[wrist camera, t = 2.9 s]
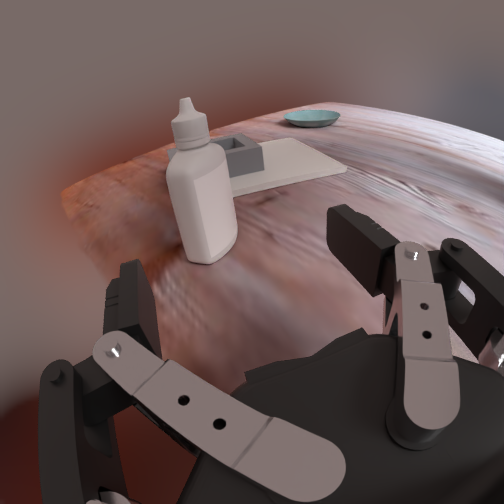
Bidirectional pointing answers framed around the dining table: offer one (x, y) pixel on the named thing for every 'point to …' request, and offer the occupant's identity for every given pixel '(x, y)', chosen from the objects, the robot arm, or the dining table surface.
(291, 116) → the saucer
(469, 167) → the dining table surface
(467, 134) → the dining table surface
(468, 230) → the dining table surface
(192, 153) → the eye dropper bottle
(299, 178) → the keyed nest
